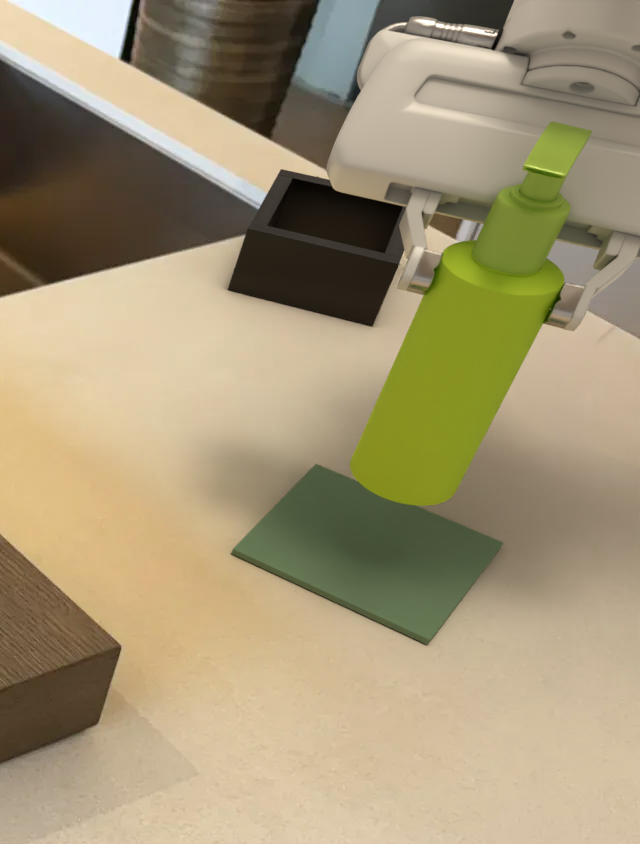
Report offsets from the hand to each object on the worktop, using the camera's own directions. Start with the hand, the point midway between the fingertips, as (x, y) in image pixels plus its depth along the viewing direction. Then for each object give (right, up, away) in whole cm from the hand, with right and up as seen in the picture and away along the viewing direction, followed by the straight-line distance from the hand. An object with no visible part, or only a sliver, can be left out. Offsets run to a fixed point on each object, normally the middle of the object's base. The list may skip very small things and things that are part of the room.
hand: (486, 306), depth 71 cm
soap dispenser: (0, -8, +9) cm, 12 cm away
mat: (0, -11, +12) cm, 17 cm away
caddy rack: (+8, +14, +36) cm, 40 cm away
